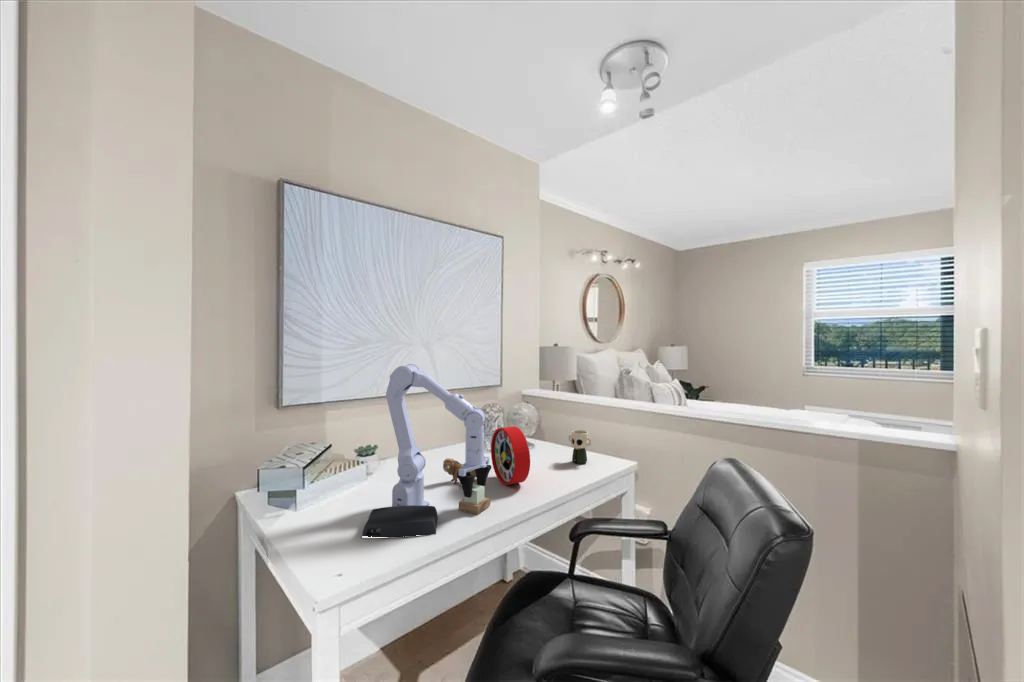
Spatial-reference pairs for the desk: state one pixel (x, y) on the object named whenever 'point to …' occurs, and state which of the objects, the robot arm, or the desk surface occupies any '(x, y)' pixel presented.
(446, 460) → the lion figurine
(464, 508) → the base brick
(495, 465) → the toy clock
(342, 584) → the desk surface
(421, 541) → the desk surface
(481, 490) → the sage brick
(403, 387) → the robot arm
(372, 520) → the external hard drive
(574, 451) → the character mug
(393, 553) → the desk surface
